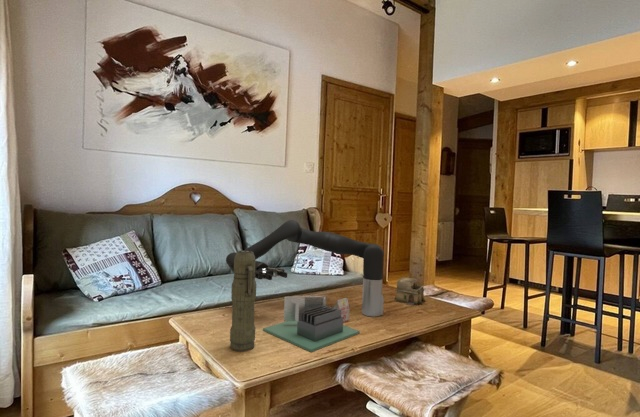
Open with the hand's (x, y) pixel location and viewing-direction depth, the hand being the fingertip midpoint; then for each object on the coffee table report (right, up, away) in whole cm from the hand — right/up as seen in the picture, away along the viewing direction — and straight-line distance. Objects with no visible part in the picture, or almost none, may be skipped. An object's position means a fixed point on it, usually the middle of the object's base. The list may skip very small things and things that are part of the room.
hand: (279, 276), depth 160 cm
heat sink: (+14, -21, -7) cm, 27 cm away
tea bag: (+27, -22, +8) cm, 35 cm away
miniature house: (+66, -22, +44) cm, 82 cm away
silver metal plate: (+11, -18, -1) cm, 21 cm away
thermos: (-11, -21, -24) cm, 34 cm away
